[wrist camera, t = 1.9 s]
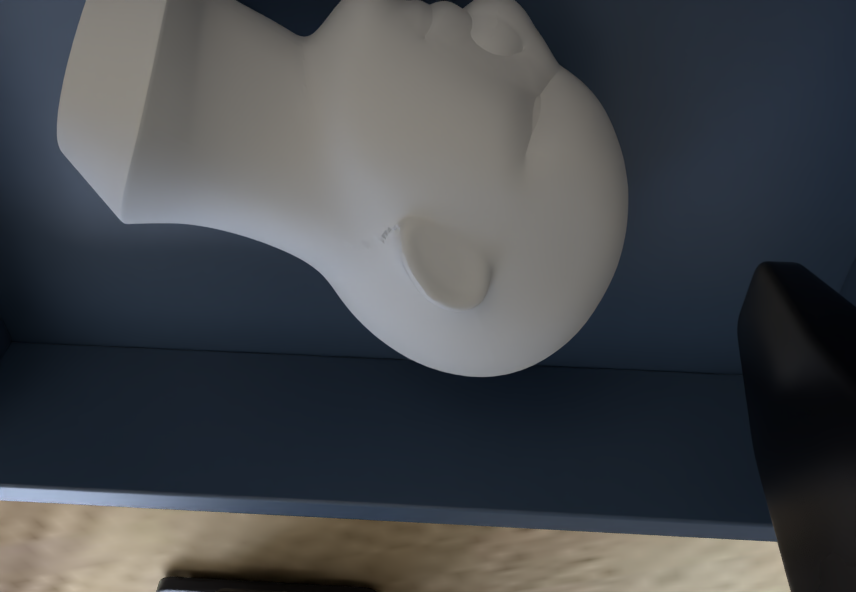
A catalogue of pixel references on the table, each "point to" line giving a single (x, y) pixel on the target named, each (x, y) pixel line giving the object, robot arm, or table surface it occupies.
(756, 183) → the box
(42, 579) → the table surface
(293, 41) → the smooth white sculpture
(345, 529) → the table surface
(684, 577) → the table surface
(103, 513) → the table surface
